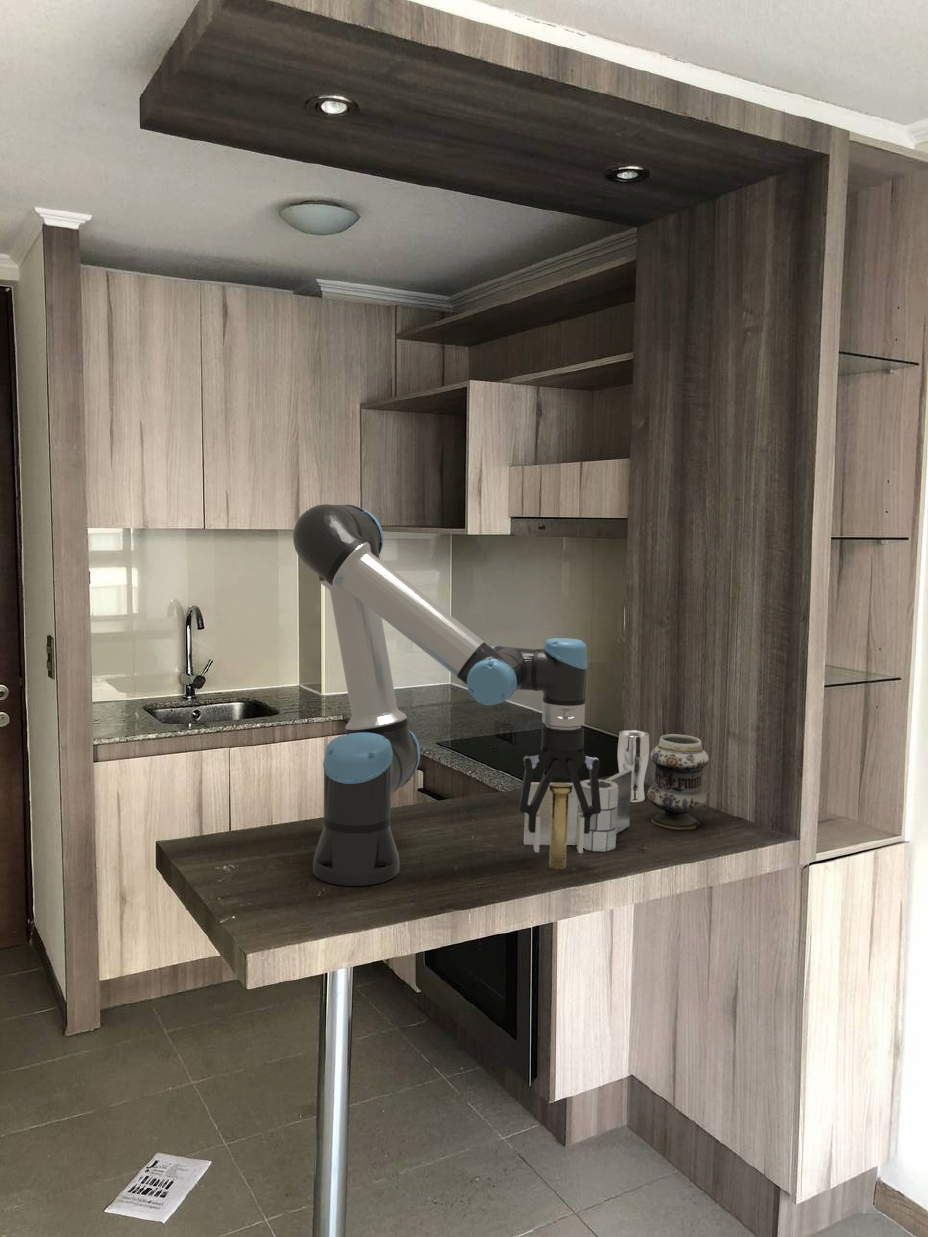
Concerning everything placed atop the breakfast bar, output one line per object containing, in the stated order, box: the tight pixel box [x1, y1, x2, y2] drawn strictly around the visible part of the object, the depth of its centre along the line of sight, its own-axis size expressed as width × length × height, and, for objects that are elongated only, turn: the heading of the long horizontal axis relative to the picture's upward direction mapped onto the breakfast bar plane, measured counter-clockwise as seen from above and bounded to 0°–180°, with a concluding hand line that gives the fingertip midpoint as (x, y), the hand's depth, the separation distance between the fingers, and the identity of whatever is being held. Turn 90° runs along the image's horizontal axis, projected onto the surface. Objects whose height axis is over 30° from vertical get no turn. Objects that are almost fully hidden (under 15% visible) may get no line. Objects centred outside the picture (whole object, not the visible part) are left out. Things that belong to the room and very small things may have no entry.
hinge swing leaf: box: [578, 769, 632, 835], centre depth 193 cm, size 18×7×12 cm, turn 146°
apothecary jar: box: [646, 733, 709, 831], centre depth 204 cm, size 12×12×18 cm
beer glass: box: [617, 729, 650, 803], centre depth 221 cm, size 7×7×15 cm
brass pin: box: [548, 782, 572, 870], centre depth 177 cm, size 4×4×15 cm
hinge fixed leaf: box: [523, 779, 618, 852], centre depth 189 cm, size 18×7×12 cm, turn 91°
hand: (558, 849), depth 177 cm, fingers open, 7 cm apart
